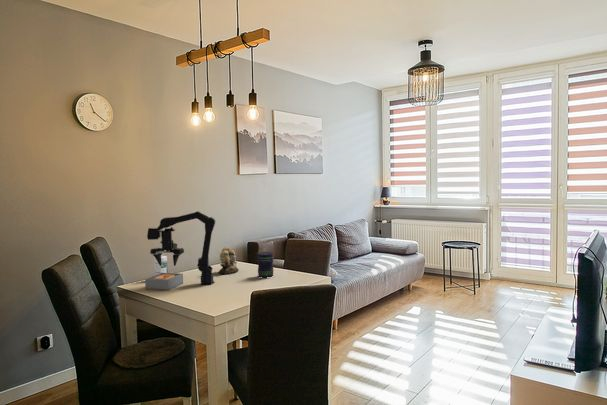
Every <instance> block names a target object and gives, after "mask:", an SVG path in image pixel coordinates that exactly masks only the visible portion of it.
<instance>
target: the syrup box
mask: <svg viewBox="0 0 607 405" xmlns="http://www.w3.org/2000/svg"><path fill="white" fill-rule="evenodd" d="M153 265H154V268H153V270H154V275H157V274H159V273H169V272H168V271H169V269H168V267H169V266H168V256H167V255H161V266H160V265H159V263H158V261H157V260H156V258H155V257H154V256H153Z"/></svg>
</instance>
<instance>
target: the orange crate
mask: <svg viewBox="0 0 607 405" xmlns="http://www.w3.org/2000/svg"><path fill="white" fill-rule="evenodd" d="M173 277H175V275H165V274H164V275H161V276H159V277H156V278H154V279H167V280H168V279H170V278H173Z"/></svg>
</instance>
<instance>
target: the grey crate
mask: <svg viewBox="0 0 607 405" xmlns="http://www.w3.org/2000/svg"><path fill="white" fill-rule="evenodd" d="M164 274H165V275H175V277H173V278H170V279H168V280H167V279H154V278H156V277H159V276H161V275H164ZM144 280H145V281H144V284H145V286H144V287H145V290H147V289H149V290H150V291H151V290H152V291H153V290H154V291H170V290H172V289H175V288H177V287H179V286H181V285H183V284H184V273H183V272H182V273H181V272H180V273H176V272H168V273H159V274H157V275H155V274H153V275H152V276H149V277H147V278H144ZM149 290H148V291H149Z"/></svg>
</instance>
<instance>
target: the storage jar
mask: <svg viewBox="0 0 607 405" xmlns="http://www.w3.org/2000/svg"><path fill="white" fill-rule="evenodd" d="M257 263H258V264H257V265H258V266H257V278H259V277H262V278H261V279H268V278H267V277H272V276H273V277H274V252H270V251H263V252H262V251H261V252H257ZM273 277H272V278H273Z"/></svg>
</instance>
